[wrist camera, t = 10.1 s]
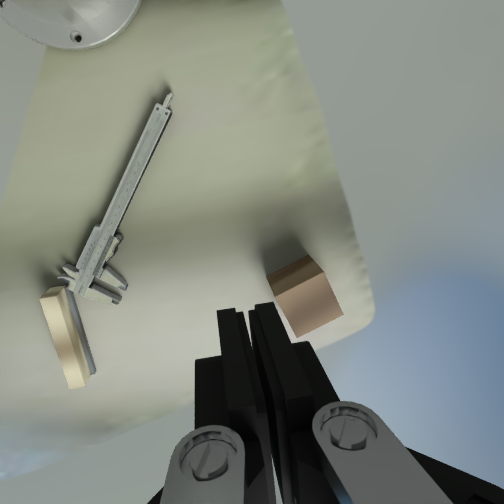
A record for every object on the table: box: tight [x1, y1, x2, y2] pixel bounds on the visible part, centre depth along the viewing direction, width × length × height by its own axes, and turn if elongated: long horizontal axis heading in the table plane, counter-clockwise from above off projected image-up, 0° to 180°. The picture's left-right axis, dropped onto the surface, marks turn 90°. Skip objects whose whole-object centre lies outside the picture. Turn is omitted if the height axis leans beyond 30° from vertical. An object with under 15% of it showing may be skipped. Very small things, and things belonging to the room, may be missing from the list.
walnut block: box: [266, 255, 344, 338], centre depth 37 cm, size 5×5×5 cm
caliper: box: [58, 93, 173, 305], centre depth 33 cm, size 20×1×6 cm
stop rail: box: [40, 285, 96, 389], centre depth 36 cm, size 10×2×2 cm, turn 7°
